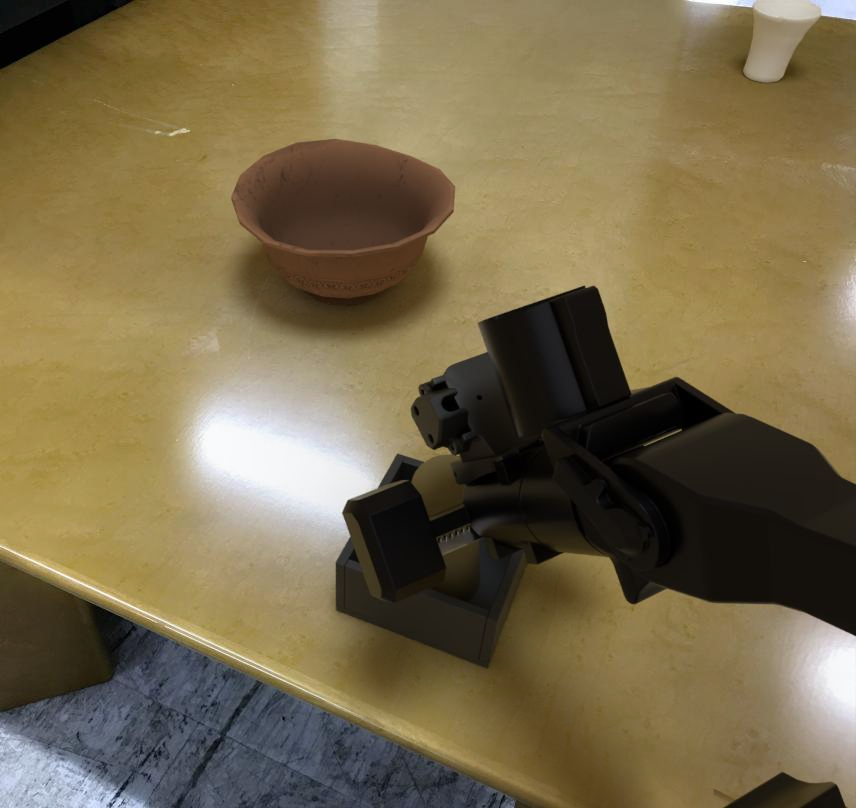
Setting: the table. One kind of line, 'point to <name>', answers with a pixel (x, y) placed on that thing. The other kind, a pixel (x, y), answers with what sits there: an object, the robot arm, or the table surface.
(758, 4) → the cup
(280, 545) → the table surface
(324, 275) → the bowl
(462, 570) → the cork
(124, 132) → the table surface
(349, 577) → the dark grey square box
